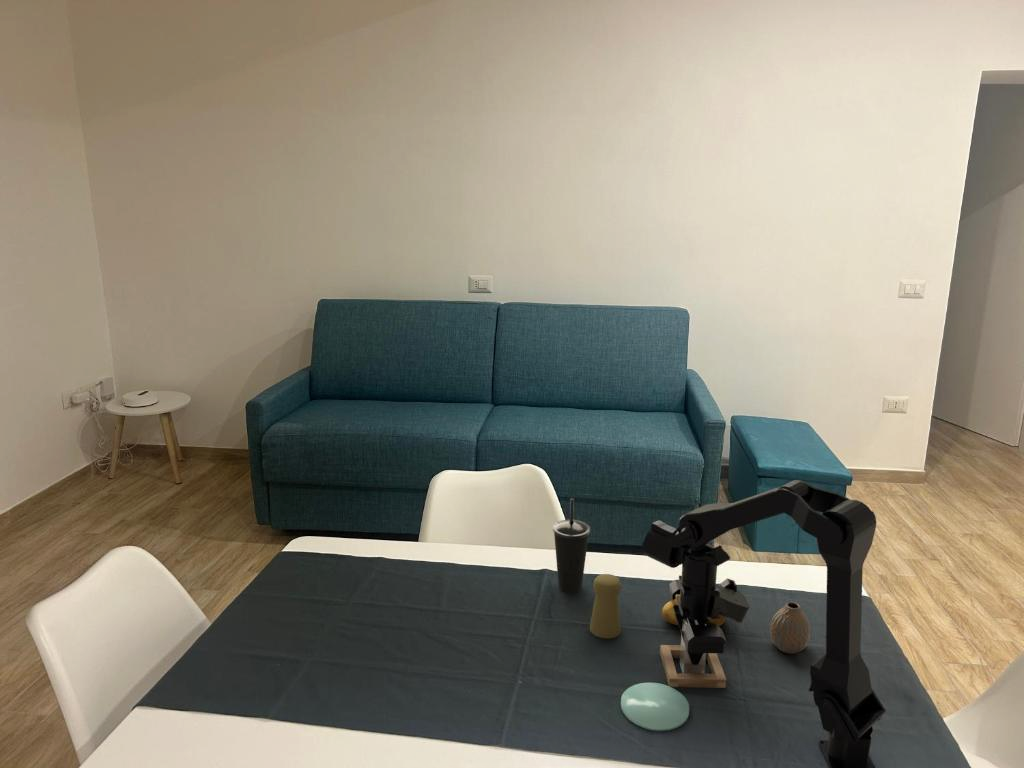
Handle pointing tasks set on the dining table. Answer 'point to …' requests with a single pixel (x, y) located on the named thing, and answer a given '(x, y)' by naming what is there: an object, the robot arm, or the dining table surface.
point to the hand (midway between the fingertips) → (692, 657)
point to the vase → (790, 629)
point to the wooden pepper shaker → (606, 607)
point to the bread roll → (671, 618)
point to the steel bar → (685, 659)
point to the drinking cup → (570, 552)
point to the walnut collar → (691, 680)
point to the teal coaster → (655, 706)
